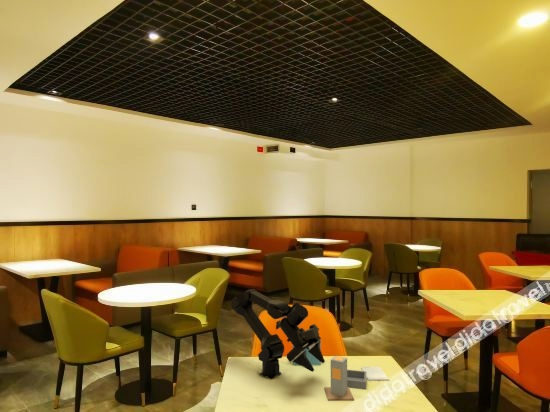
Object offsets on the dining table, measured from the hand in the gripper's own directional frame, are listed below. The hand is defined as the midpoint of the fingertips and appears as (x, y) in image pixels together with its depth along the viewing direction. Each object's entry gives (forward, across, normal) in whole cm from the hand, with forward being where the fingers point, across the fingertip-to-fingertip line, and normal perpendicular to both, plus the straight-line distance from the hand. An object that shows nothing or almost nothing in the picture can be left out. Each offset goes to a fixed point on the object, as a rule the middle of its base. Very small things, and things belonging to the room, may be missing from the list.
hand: (318, 366), depth 143 cm
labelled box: (+11, 0, 0) cm, 11 cm away
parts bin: (+12, +12, 0) cm, 17 cm away
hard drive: (+16, +24, -3) cm, 29 cm away
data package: (-4, +21, +17) cm, 27 cm away
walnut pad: (+12, 0, +1) cm, 12 cm away
